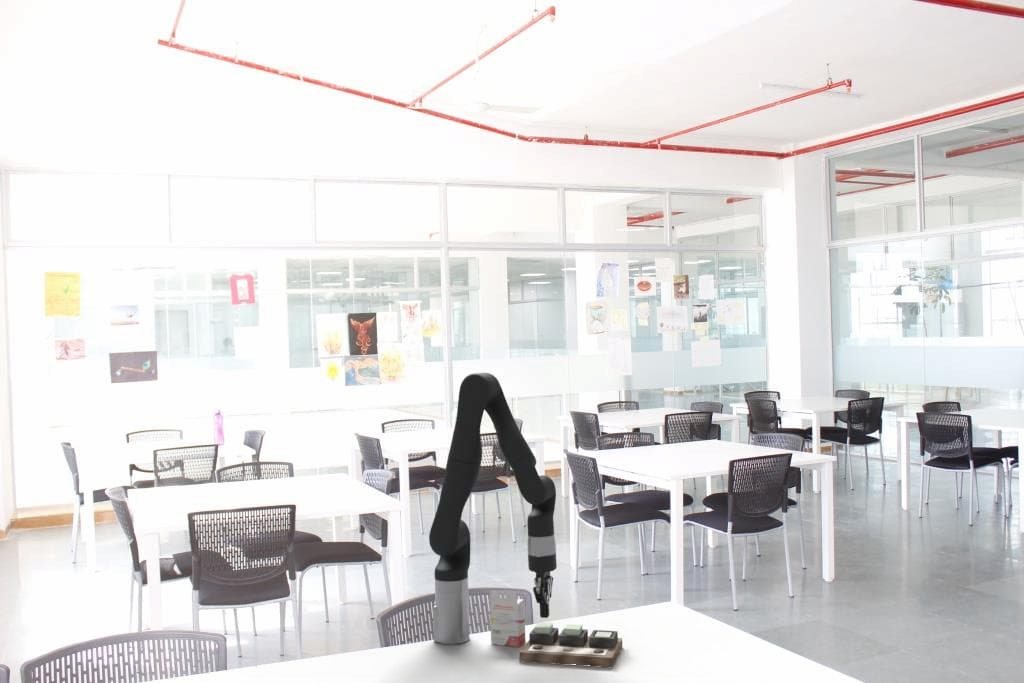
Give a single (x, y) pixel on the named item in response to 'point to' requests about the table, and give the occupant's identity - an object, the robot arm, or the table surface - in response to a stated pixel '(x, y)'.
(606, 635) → the button
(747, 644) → the table surface
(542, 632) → the button
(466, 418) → the robot arm
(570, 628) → the button middle
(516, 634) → the ink cartridge box
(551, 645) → the button panel
